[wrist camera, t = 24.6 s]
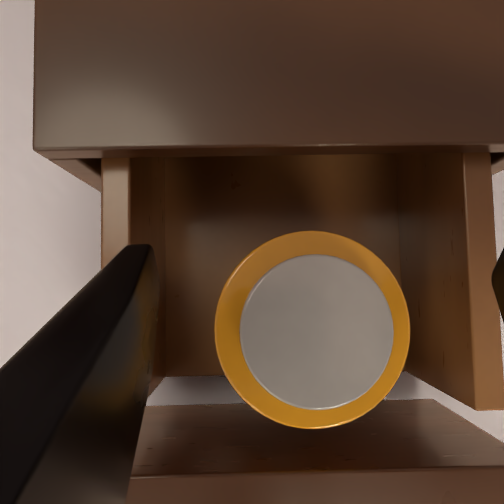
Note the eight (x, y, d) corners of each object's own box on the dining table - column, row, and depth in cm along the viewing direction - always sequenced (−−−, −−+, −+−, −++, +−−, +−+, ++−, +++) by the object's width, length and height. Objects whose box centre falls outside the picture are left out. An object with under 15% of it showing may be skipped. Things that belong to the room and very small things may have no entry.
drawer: (440, 547, 17) (556, 705, 11) (133, 556, 17) (66, 724, 11) (419, 97, 18) (512, -1, 12) (133, 101, 18) (72, 3, 12)
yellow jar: (309, 395, 16) (357, 480, 9) (203, 333, 16) (172, 370, 9) (369, 288, 17) (459, 293, 10) (264, 227, 17) (278, 188, 10)
